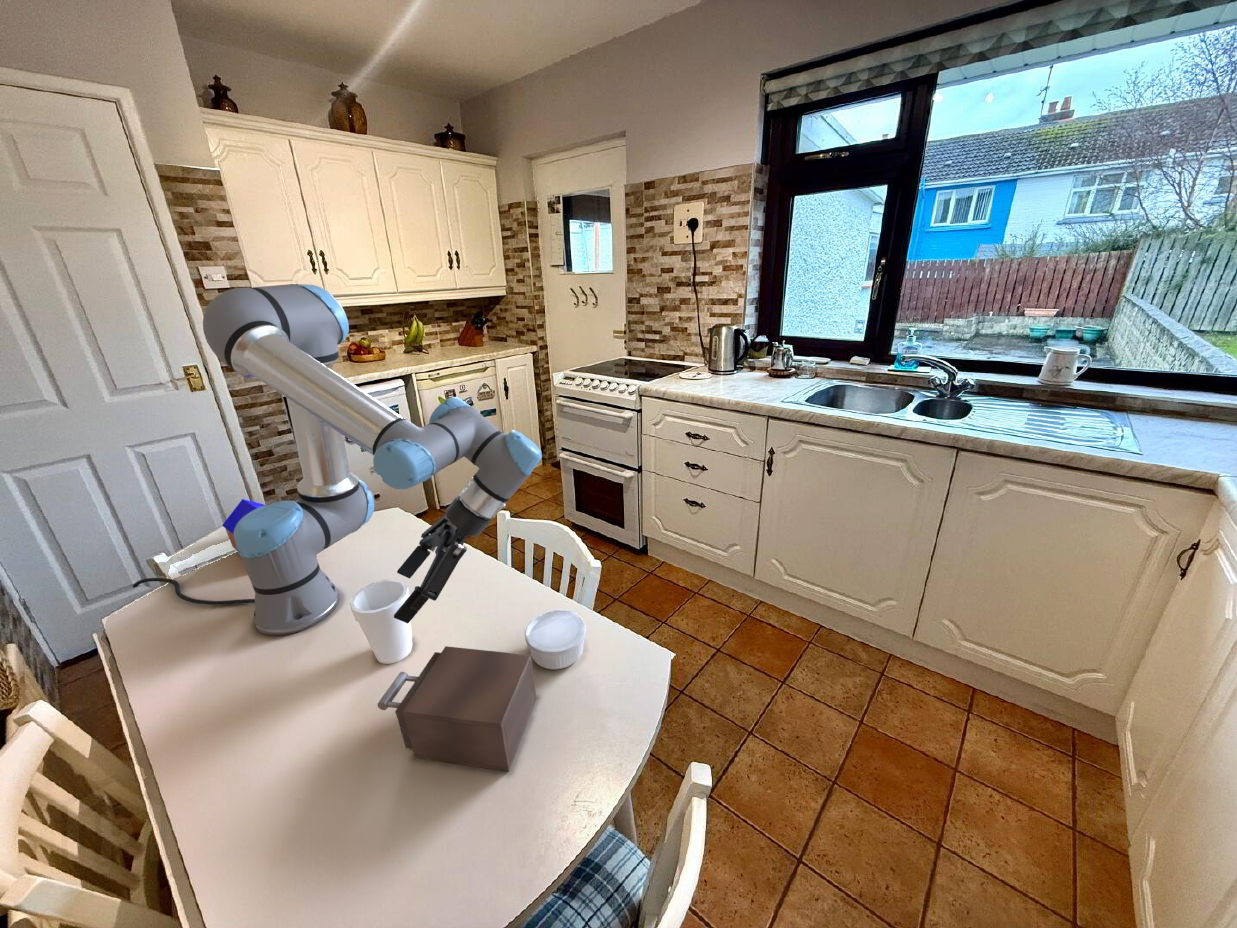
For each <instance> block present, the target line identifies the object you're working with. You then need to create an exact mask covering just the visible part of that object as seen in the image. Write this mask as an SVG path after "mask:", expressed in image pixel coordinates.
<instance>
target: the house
mask: <svg viewBox="0 0 1237 928" xmlns="http://www.w3.org/2000/svg"><path fill="white" fill-rule="evenodd" d="M264 505H266V504H265V503H261V502H256V501H252V500H248V499H244V498H242V499H241V500H240V501H239V502H238V504H237V505H236V507H235V508H234V509H233V511H232V512H231V513H230V514H229V515H228V517H227V518H226V519H225V520H224V522H223V524H222V525H221V527H223V528H224V529H225V531H226V535H227V536H228V539H229V541H230V544H231V547H232V548H233V549H234V550H236V551H237V549H236V543H235V539H234V530H235V526H236V525H237V523H238V522H239V521H240V520H241V519H242V518H243V517H244V516H245V515H247V514H248V513H250V512H251V511H253V510H255V509H257V508H259V507H261V506H264Z"/></svg>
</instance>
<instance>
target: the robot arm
mask: <svg viewBox="0 0 1237 928" xmlns="http://www.w3.org/2000/svg"><path fill="white" fill-rule="evenodd" d="M349 330H350V326H349V320H348V316H347V314H346V312H345V310H344V308H343V306H342V305H341V303H340V302H339V301H338V300H337V299H335V297H334V296H333V295H332V293H331V292H329V291H328V290H326V289H325V288H323V287H321V286H318V285H315V284H305V283H303V284H302V283H301V284H300V283H289V284H276V285H265V286H255V287H254V286H253V287H236V288H231V289H228V290H225V291H223V292H221V293H220V294H218V295H216V296H215V297H214V298H212V300H211V301H210V302H209V303H208V304H207V307H206V309H205V311H204V313H203V318H202V331H203V334H204V338H205V340H206V343H207V344H208V347H209V349H210V350H211V351H212V352H213V354H214V355H215V356H216V357H217V358H218V359H219V360H220V361H221V362H222V363H223V364H224V365H226V366H227V367H228V368H229V369H231V370H233V371H234V372H236V373H237V374H239V376H242V377H244V378H247V379H258V380H259V381H261V382H262V383H264V384H265V385H267V386H268V387H270V388H272V389H273V390H275V392H278V393H279V394H280V395H282V396H283V397H285V398H286V402H287V406H288V411H289V416H290V420H291V421H290V422H291V424H292V430H293V435H294V440H295V445H296V448H297V454H298V458H299V463H300V467H301V472H302V477H303V478H302V479H301V480H300V481H298V483H297V485H296V490H297V496H298V500H297V501H293V500H278V501H274V502H272V503H270V504H265V505H264V506H261V507H259V508H257V509H255V510H253V511H251V512H250V513H248V514H247V515H245V516H244V517H243V518H242V519H241V520H240V521H239V522H238V523H237V525H236V526H235V530H234V539H235V543H236V549H237V550H236V549H235V550H236V552H237V554H238V555H239V557H240V559H241V561H242V564H243V566H244V569H245V571H246V574H247V576H248V578H249V581H250V584H251V586H252V588H253V591H254V598H244V599H230V600H229V599H227V600H205V599H197V598H193V597H190V596H187V595H186V594H183V593H182V592H181V585H180V584H179V582H178V580H175V579H171V578H167V577H166V578H165V577H147V578H143V579H140V580H137V581H136V582H134V583H133V584H132V589H133V588H137V587H138V586H140V585H141V584H144V583H147V582H149V583H151V582H161V583H169V584H172V585H173V586H174V592H175V595H176V596H177V597H178V598H180V599H181V600H184V601H185V602H188V603H193V604H200V605H211V606H214V605H215V606H223V605H238V604H254V611H253V622H254V624H255V628H256V629H257V631H258V632H259V633H261V634H263V635H266V636H285V635H290V634H294V633H298V632H300V631H303V630H306V629H308V628H310V627H313V626H315V625H316V624H318V623H320V622H322V621H323V620H325V619H326V618H327V617H328V616H330V615H331V614H332V613H333V612H334V611H335V609H336V608H337V607H338V605H339V603H340V593H339V590H338V588H337V586H336V585H335V584H334V582H332V579H331V578H330V577H328V576H327V574H326V573H324V572H323V570H322V569H321V567H320V564H319V563H320V562H319V560H318V557H317V555H318V554H320V553H321V552H323V551H325V550H326V549H328V548H330V547H332V546H333V545H335V544H336V543H338V542H340V541H341V540H343V539H344V538H346V537H347V536H349V535H351V534H354V533H355V532H357V531H358V530H360V529H361V528H362V527H363V526H365V525H366V524H367V523H369V521H370V520H371V518H372V517H373V515H374V511H375V500H374V496H373V493H372V491H371V490H369V486H368V485H367V484H366V483H365V482H364V481H363V480H361V479H359V477H358V475H357V474H354V472H351V471H350V467H349V462H348V454H347V450H346V443H345V438H346V439H348V440H350V441H351V442H353V443H354V444H356V445H357V446H358V447H360V448H361V449H363V450H365V451H366V452H367V453H369V454H370V455H372V456H373V458H372V459H373V461H372V462H373V463H372V464H373V467H374V470H375V472H376V474H377V476H378V475H379V476H380V477H381V479H382V482H383V483H384V484H386V485H387V486H388V487H389V488H393V489H395V490H408V489H411V488H413V487H415V486H417V485H420V484H421V483H424V482H427V481H428V480H429V479H431V478H432V477H433V476H434V475H436V474H438V473H439V472H441V471H442V470H444V469H445V468H447V467H449V466H451V465H452V464H455V463H456V462H458V461H459V460H461V459H463V458H465V459H466V460H467V461H469V462H470V463H472V465H474V466H476V467H477V468H478V469H477V470H476V473H474V475H472V476H471V478H470V479H469V480H468V482H467V483H466V484H465V485H464V486H463V487H462V489H460V491H459V495H457V496H455V498H454V499H453V500H452V501H451V502H450V504H449V505H448V506H447V507H446V509H445V511H444V512H445V514H444V515H443V516H442V517H440V518H439V519H438V520H437V521H436V522H434V523H433V524H432V525H430V526H429V527H428V528H427V529H426V530H425V531H424V532H422V534H421V536H420V538H421V539H420V540H419V543H418V545H417V546H416V547H415V549H414V550H413V551H412V552H411V554H410V555H409V556H408V557H407V558H406V559H405V561H404V562H403V563H402V564H401V566H400V567H399V568H398V569H397V570H396V573H397V574H399V575H401V576H403V577H405V578H407V579H411V578H412V577H413V576H414V574H415V573H416V572H417V571H418V570H419V568H420V567H421V566H422V565H423V563H424V562H425V561H426V560H427V559H428V557H430V555H431V552H433V553H434V554H435V556H434V559H433V560H432V562H431V564H430V566H429V568H428V570H427V573H426V575H425V576H424V578H423V580H422V583H421V585H420V586H419V585H417V586H416V585H415V587H414V590H413V591H412V592H411V594H409V595H410V596H409V597H408V598H407V600H406V601H405V602H404V603H403V605H402V606H401V607H400V608H399V609H398V611H397V612H396V613H395V614H394V618H395V619H398V620H400V621H403V622H405V623H409V622H410V621H411V622H412V620H413V619H414V617H415V616H416V615H417V614H418V613H419V611H420V610H421V609H422V608H423V607H424V605H425V604H426V603H427V602H428V600H431V601H434V602H436V601H437V600H438V598H439V596H440V594H441V593H442V591H443V589H444V588H445V586H446V584H447V582H448V581H449V579H450V577H451V576H452V574H453V572H454V570H455V568H456V567H457V565H458V563H459V562H460V560H461V559H462V558H463V556H464V555H465V554H466V552H467V551H468V547H466V546H465V545H464V544H465V542H466V539H467V537H478V536H481V534H482V533H483V532H484V531H485V529H486V528H487V527H488V526H489V525H490V523H491V519H494V518H495V517H496V516H497V514H498V513H499V512H501V509H506V503H508V501H510V499H511V498H512V496H513V495H514V494H515V493H516V492H517V491H518V490H519V488H521V486H522V485H523V484H524V482H525V481H527V479H528V478H529V477H530V476H531V475H532V472H533V471H534V470H535V469H536V467H537V465H538V464H539V463H540V462H541V460H542V458H543V453H542V450H541V449H540V448H539V446H538V445H537V444H535V443H534V441H533V440H532V439H530V438H528V437H526V435H524V434H523V433H522V432H520V431H518V430H516V429H512V430H509V432H508V433H506V434H505V433H503V432H501V430H499V428H497V427H496V426H495V425H494V424H493V423H492V422H490V421H489V420H488V419H486V417H484V416H483V415H482V414H481V413H480V412H479V411H478V410H477V408H475V407H473V406H472V405H469V403H467V402H465V401H464V400H463V399H462V398H459V396H458V397H457V396H452V397H449V398H447V399H445V400H444V401H443V402H442V403H439V404H438V406H437V407H435V408H434V410H433V411H432V413H431V415H430V417H429V420H428V424H426V425H425V424H424V425H423V426H421V427H419V426H417V425H416V424H414V423H413V422H411V421H410V420H407V419H406V418H405V417H404V416H402V415H400V414H399V413H398V412H395V410H393V409H392V408H390V407H388V406H387V405H385V404H384V403H382V402H380V401H379V400H377V399H376V398H375V397H373V396H372V395H370V394H368V393H367V392H365V391H364V390H363V389H361V388H359V387H358V386H357V385H355V384H353V383H352V382H351V381H349V380H347V379H346V378H344V377H343V376H341V375H340V374H338V373H337V372H335V371H334V370H333V366H334V365H335V364H336V363H337V362H338V361H339V360H340V354H339V348H338V345H339V346H340V345H342V343H343V342H344V341H346V338H347V337H348V335H349ZM344 437H345V438H344Z"/></svg>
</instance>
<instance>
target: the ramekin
mask: <svg viewBox="0 0 1237 928" xmlns="http://www.w3.org/2000/svg"><path fill="white" fill-rule="evenodd" d="M586 635H587V625H586V622H585V620H584V619H583V618H582V617H581V615H579V614H578V613H576V612H574V611H572V610H568V609H567V610H566V609H554V610H548V611H546V612H543V613H541V614H539V615H537V616H535V617H534V618H533V619H532V620H531V621H529V623H528V624H527V626H526V628H525V631H524V639H525V642H526V645H527V647H528V649H529V653H530V655H531V659H533V661H534V662H535V663H536V664H537V665H538V666H540V667H542V668H545V669H548V670H562V669H565V668H567V667H570V666H571V665H573V664H574V663H575V662H577V661H578V660H579V659H580V657H581V656H582V654H583V651H584V647H585V638H586Z"/></svg>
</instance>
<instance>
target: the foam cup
mask: <svg viewBox="0 0 1237 928" xmlns="http://www.w3.org/2000/svg"><path fill="white" fill-rule="evenodd" d="M410 595H411V594H410V591H409V586H407V584H406V582H405V581H402V580H399V579H397V578H393V579H380V580H377V581H374V582H371V583H369V584H367V585H365V586H363V587H361V588H360V589H359V590H358V591H357V592H355V593H354V595H352V597H351V599H350V602H349V606H350V611H351V613H352V616H353V618H354V619H355V621H356V622H357V623H358V625H359V626H360V628H361V630H362V633H363V635H364V637H365V638H366V640H367V642H368V644H369V646H370V649H371V650H372V652H373V654H374V656H375V658H376V660H377V662H379V663H381V664H384V665H385V664H386V665H387V664H388V665H390V664H395V663H398V662H401V661H402V660H403V659H405V658H406V657H408V655H409V654H410V653H411V651H412V650H413V634H412V633H413V632H412V620H411V621H410V622H409V623H405V622H403V621H400V620H398V619H395V618H394V614H395V613H396V612H397V611H398V609H399V608H400V607H401V606H402V605H403V603H404V602H405V601H406V600H407V598H408V597H409V596H410Z"/></svg>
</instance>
